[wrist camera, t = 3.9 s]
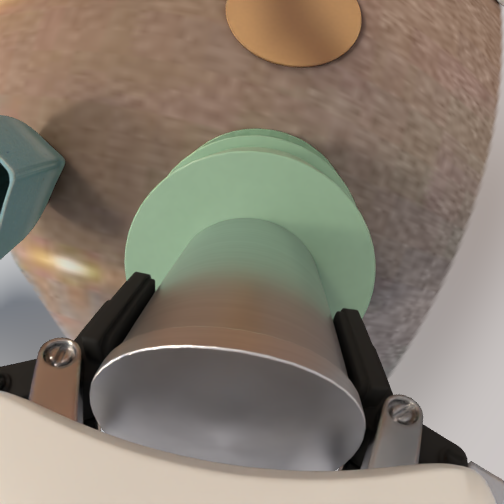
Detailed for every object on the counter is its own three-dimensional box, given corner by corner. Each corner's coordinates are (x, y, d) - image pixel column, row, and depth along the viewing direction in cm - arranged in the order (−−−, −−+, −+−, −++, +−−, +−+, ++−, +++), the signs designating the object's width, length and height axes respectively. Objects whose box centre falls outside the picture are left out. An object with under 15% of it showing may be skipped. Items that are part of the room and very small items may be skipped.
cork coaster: (305, -51, 13) (305, -53, 13) (385, 34, 16) (387, 33, 16) (200, 1, 16) (199, -1, 15) (279, 92, 19) (280, 91, 18)
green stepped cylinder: (279, 92, 19) (288, 56, 9) (377, 245, 23) (432, 314, 13) (134, 202, 22) (60, 249, 13) (237, 327, 26) (223, 415, 17)
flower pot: (53, 231, 24) (-9, 271, 16) (5, 180, 22) (-57, 204, 14) (90, 156, 21) (15, 175, 13) (36, 106, 19) (-36, 111, 11)
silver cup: (265, 181, 11) (256, 275, 4) (347, 303, 13) (398, 452, 6) (145, 268, 13) (49, 394, 6) (232, 362, 15) (210, 500, 8)
